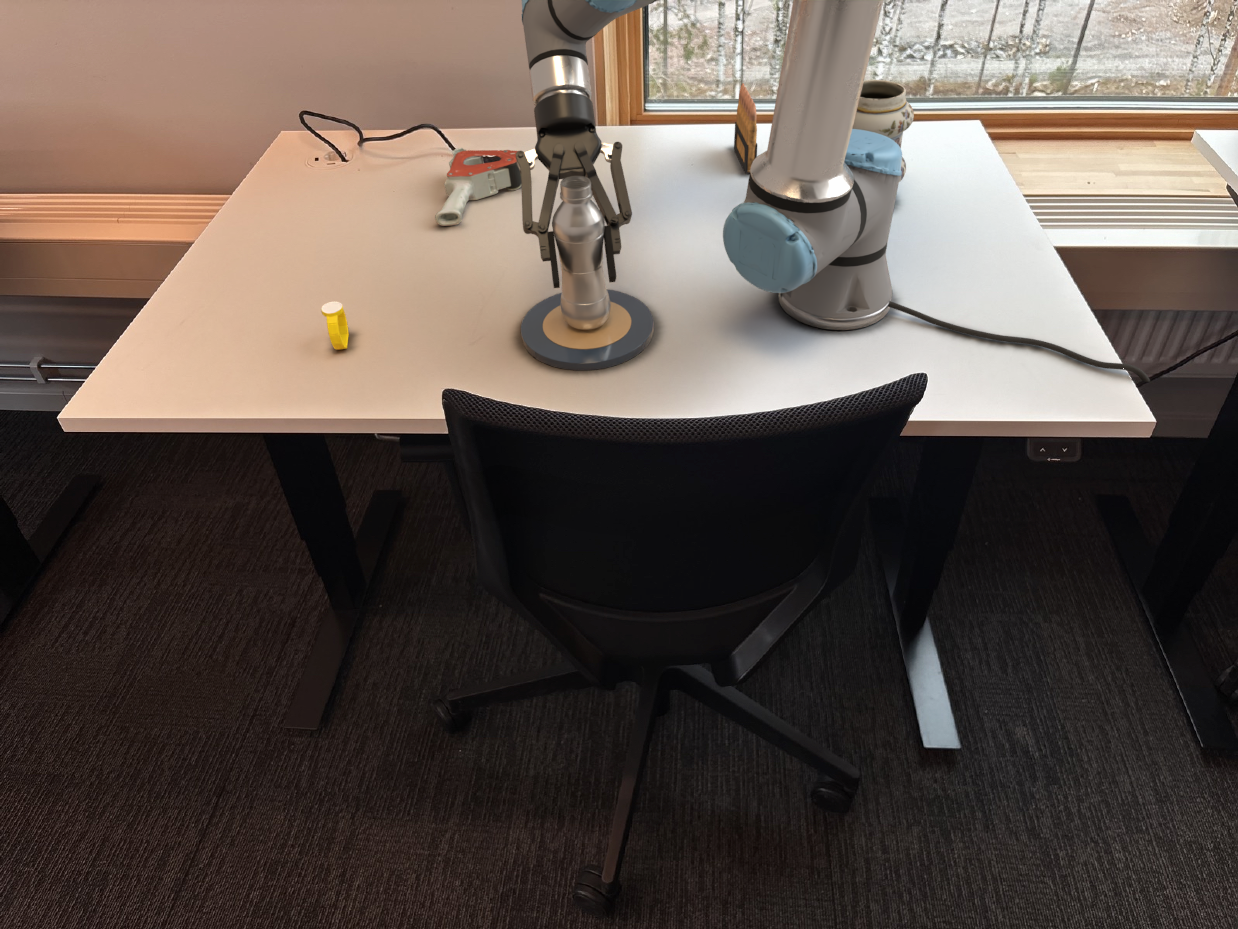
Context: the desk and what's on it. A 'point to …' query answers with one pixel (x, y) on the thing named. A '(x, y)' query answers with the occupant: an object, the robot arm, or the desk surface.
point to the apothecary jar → (884, 111)
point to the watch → (336, 324)
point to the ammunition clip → (745, 130)
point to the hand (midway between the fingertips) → (584, 282)
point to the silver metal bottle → (581, 255)
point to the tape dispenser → (476, 180)
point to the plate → (587, 334)
